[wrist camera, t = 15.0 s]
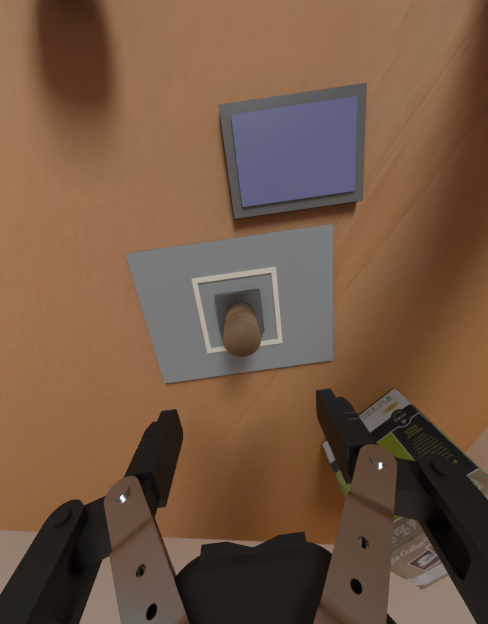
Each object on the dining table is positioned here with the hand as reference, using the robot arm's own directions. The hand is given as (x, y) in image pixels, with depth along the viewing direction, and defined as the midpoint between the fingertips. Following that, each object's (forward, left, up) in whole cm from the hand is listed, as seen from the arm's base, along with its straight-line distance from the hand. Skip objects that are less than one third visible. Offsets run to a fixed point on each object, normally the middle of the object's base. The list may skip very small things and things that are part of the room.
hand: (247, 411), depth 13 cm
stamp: (0, 0, -17) cm, 17 cm away
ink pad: (-8, -16, -18) cm, 25 cm away
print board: (0, 0, -18) cm, 18 cm away
